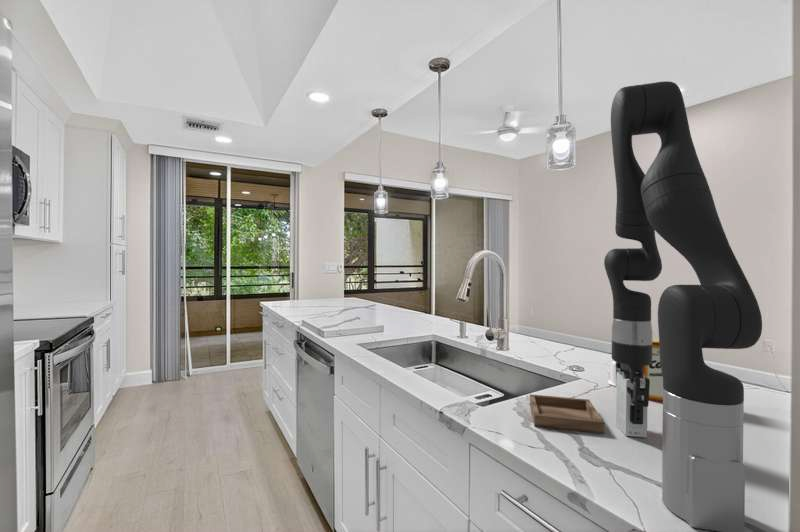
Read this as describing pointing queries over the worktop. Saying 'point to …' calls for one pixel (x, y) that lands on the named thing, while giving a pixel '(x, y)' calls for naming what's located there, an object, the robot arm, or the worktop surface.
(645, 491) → the worktop surface
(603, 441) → the worktop surface
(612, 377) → the downlight
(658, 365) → the baking soda box
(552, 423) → the tray
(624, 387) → the skincare box
